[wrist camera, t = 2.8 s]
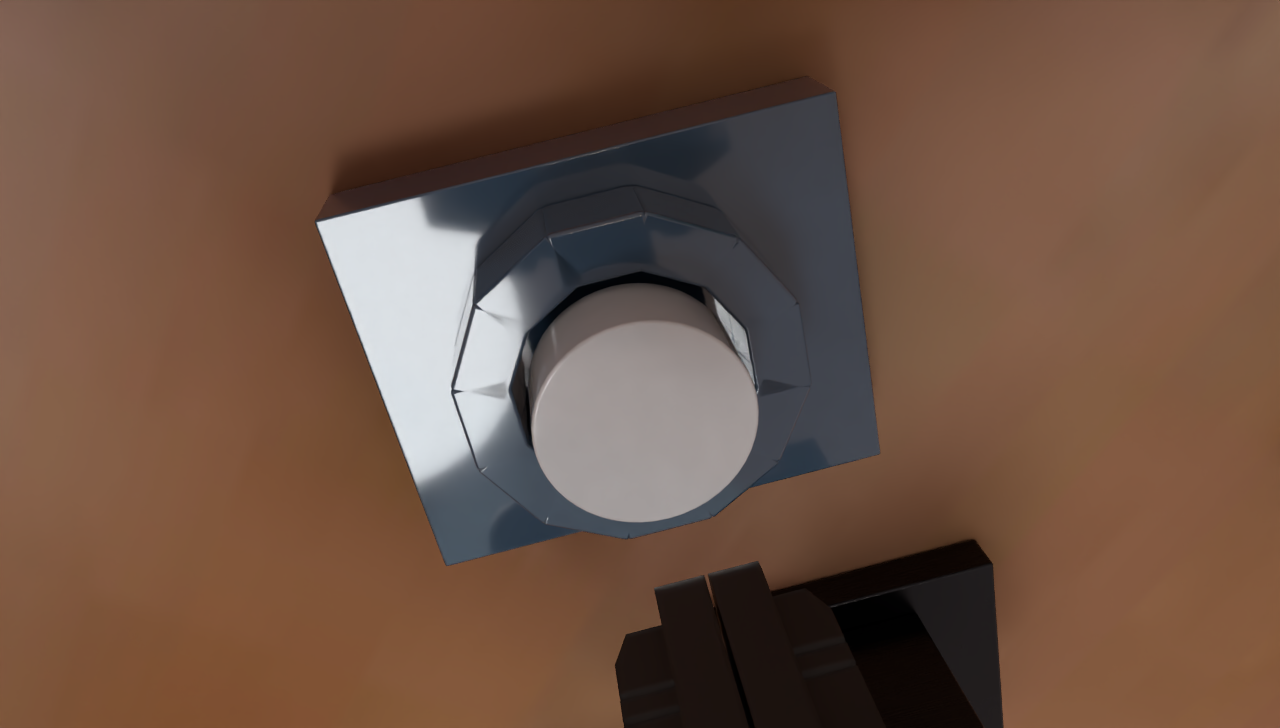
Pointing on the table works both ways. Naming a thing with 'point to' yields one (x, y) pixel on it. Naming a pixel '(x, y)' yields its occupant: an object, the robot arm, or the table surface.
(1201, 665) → the table surface
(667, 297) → the flush button
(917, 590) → the flush bracket
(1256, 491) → the table surface
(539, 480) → the flush plate
